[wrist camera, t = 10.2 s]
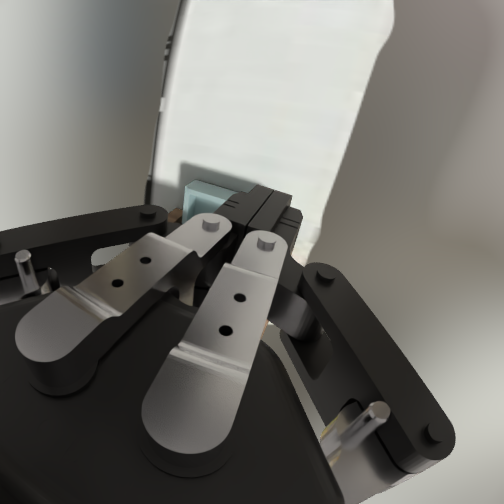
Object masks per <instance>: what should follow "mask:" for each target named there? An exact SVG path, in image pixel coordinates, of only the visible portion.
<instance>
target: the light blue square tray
mask: <svg viewBox="0 0 504 504" xmlns="http://www.w3.org/2000/svg"><path fill="white" fill-rule="evenodd" d="M236 193H238V192H235V191H232V190H228V189H225V188H222V187H218V186H215V185H212V184H208V183H205V182H201V181H198V180H194V181H192V182H191V183H189V184H188V185H186V186H185V194H184V204H183V215H182V224H184V223H185V222H187V221H188V220H189V219H191V218H192V217H194V216H195V215H198V214H202V213H213V212H214V211H216V210H217V209H218V208H219V207H220V206H221V205H222V204H223V203H224V202H225V201H226V200H227V199H228V198H229V197H230V196H232V195H233V194H236Z"/></svg>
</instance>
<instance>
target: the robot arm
mask: <svg viewBox="0 0 504 504" xmlns="http://www.w3.org/2000/svg"><path fill="white" fill-rule="evenodd" d="M291 200H292V195H289V194H286V193H283V192H280V191H277V190H275V191H274V190H273V189H270V188H267V187H264V186H260V185H256V186H255V187H254V188H253V189H252V190H251V191H250V192H249V194H248V193H245V192H239V193H236V194H233V195H232V196H230V197H229V198H228V199H227V200H226V201H225V202H224V203H223V204H222V205H221V206H220V207H219V208H218V209H217V210H216V211H214V212H213V213H202V214H198V215H195V216H194V217H192V218H191V219H189V220H188V221H187V222H185V223H184V224H180V223H172V222H168V212H167V211H166V210H165V209H164V208H162V207H159V206H156V205H141V206H133V207H126V208H120V209H114V210H108V211H102V212H96V213H91V214H85V215H79V216H73V217H68V218H62V219H57V220H53V221H47V222H42V223H37V224H33V225H27V226H23V227H18V228H14V229H9V230H5V231H1V232H0V504H359V503H361V502H363V501H364V500H366V499H368V498H370V497H371V496H373V495H375V494H378V493H382V492H384V491H386V490H388V489H390V488H392V487H394V486H396V485H398V484H400V483H402V482H404V481H406V480H408V479H410V478H412V477H413V476H415V475H417V474H419V473H421V472H423V471H424V470H426V469H428V468H430V467H431V466H433V465H435V464H436V463H438V462H440V461H441V460H443V459H444V458H446V457H447V456H448V455H450V453H451V452H452V450H453V448H454V446H455V431H454V428H453V425H452V424H451V422H450V420H449V419H448V417H447V416H446V414H445V413H444V411H443V410H442V408H441V407H440V405H439V404H438V402H437V401H436V399H435V398H434V396H433V395H432V394H431V392H430V391H429V389H428V388H427V386H426V385H425V383H424V382H423V381H422V379H421V378H420V376H419V375H418V373H417V372H416V371H415V369H414V368H413V366H412V365H411V364H410V362H409V361H408V360H407V358H406V357H405V356H404V354H403V353H402V351H401V350H400V348H399V347H398V346H397V344H396V343H395V342H394V340H393V339H392V338H391V336H390V335H389V334H388V332H387V331H386V330H385V328H384V327H383V326H382V324H381V323H380V322H379V320H378V319H377V318H376V316H375V315H374V314H373V312H372V311H371V310H370V308H369V307H368V306H367V305H366V303H365V302H364V301H363V299H362V298H361V297H360V296H359V294H358V293H357V292H356V290H355V289H354V288H353V287H352V285H351V284H350V283H349V282H348V280H347V279H346V278H345V277H344V275H343V274H342V273H341V272H340V271H339V270H337V269H336V268H334V267H332V266H330V265H327V264H324V263H310V264H307V265H306V266H305V267H303V266H302V265H300V264H299V263H297V262H296V261H295V260H294V259H293V258H292V256H291V253H292V250H293V248H294V245H295V242H296V238H297V235H298V232H299V229H300V226H301V222H302V219H303V216H302V213H301V211H300V210H298V209H295V208H292V207H290V204H291ZM126 243H129V247H128V248H127V249H125V250H124V251H123V252H122V253H120V254H119V255H117V256H116V257H114V258H113V259H112V260H110V261H109V262H108V263H106V264H104V265H98V266H93V265H92V264H91V256H92V254H93V252H94V251H96V250H97V249H100V248H105V247H110V246H115V245H120V244H126ZM50 268H52V269H50ZM266 319H267V320H268V321H270V322H271V323H273V324H274V325H276V326H277V327H279V328H280V329H281V330H280V338H281V341H282V343H283V345H284V347H285V349H286V351H287V352H288V355H289V357H290V358H291V360H292V362H293V364H294V366H295V368H296V370H297V372H298V374H299V376H300V378H301V380H302V382H303V384H304V386H305V388H306V390H307V391H308V393H309V395H310V397H311V399H312V401H313V403H314V405H315V407H316V409H317V410H318V413H319V414H320V416H321V418H322V420H323V422H324V424H325V426H326V428H325V429H324V430H323V432H322V434H321V437H320V444H319V442H318V439H317V437H316V435H315V433H314V430H313V429H312V426H311V424H310V422H309V420H308V418H307V415H306V413H305V411H304V409H303V406H302V404H301V402H300V400H299V397H298V395H297V393H296V391H295V389H294V386H293V384H292V382H291V380H290V377H289V375H288V373H287V371H286V369H285V367H284V365H283V363H282V362H281V360H280V358H279V357H278V356H277V354H276V353H275V352H274V351H273V350H272V349H271V348H270V347H269V346H268V345H267V344H266V343H265V342H263V341H262V340H261V339H260V338H261V335H262V332H263V329H264V326H265V322H266ZM325 332H326V333H325ZM326 334H327V335H326ZM328 337H329V338H328Z"/></svg>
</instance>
